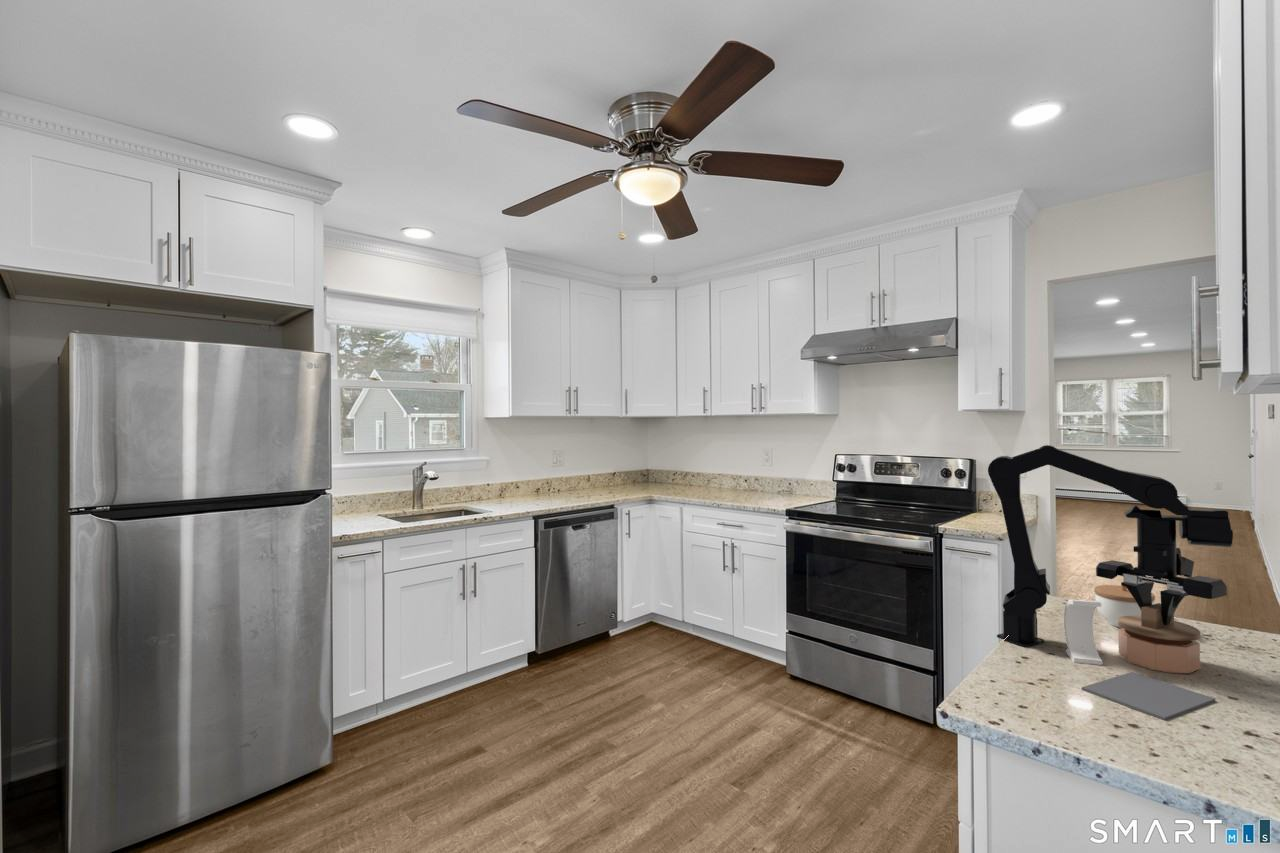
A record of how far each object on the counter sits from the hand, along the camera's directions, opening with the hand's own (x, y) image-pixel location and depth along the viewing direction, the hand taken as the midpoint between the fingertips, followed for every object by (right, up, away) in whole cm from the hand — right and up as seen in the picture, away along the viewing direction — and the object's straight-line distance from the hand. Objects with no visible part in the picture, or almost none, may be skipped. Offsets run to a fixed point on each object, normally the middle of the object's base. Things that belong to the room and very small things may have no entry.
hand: (1157, 622), depth 115 cm
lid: (0, -1, 0) cm, 1 cm away
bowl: (0, -8, 0) cm, 8 cm away
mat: (-14, -8, -14) cm, 21 cm away
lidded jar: (+11, -8, +21) cm, 25 cm away
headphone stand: (-12, -8, +3) cm, 15 cm away
